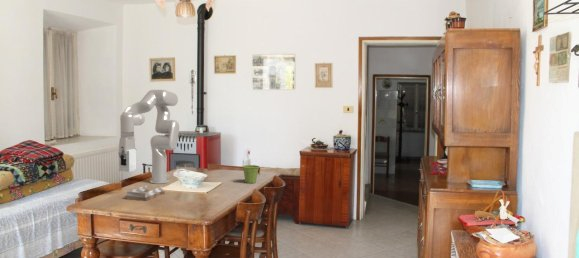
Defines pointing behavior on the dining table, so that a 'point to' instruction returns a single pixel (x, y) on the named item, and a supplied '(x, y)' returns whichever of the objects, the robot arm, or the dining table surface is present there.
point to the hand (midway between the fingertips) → (127, 164)
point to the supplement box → (128, 161)
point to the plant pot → (250, 173)
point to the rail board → (144, 193)
